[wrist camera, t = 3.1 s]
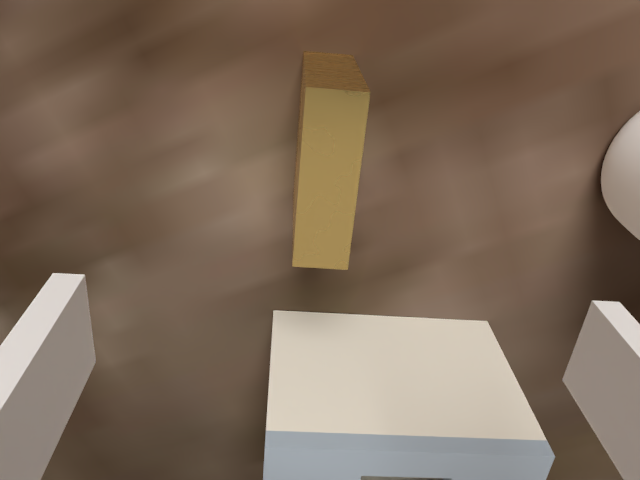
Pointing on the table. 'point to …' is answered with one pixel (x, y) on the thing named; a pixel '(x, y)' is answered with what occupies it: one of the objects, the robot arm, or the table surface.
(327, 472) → the coin box
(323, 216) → the block
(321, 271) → the table surface
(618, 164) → the mug
